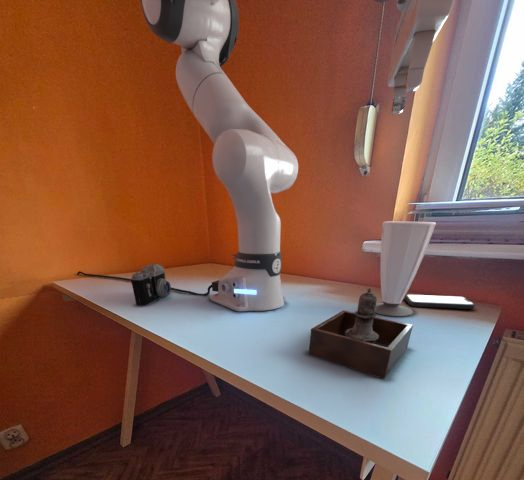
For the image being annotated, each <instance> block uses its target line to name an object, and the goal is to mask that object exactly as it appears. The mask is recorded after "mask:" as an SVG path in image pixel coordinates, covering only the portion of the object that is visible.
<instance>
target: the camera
mask: <svg viewBox="0 0 524 480" xmlns="http://www.w3.org/2000/svg"><path fill="white" fill-rule="evenodd" d="M130 279H131V281H130V283H131V286H132V292H133V296H134V301H135V306H137V307H147V306H149V305H150V304H152V303H155V302H156V301H158V300H160V299H162V298H166V297H167V296H169V295H170V294H171V291H172V290H171V288H172V287H171V283H170V282H169V281H168V280H167V279H166V274H165V267H164V266H163V265H161V264H158V263H150V264H148V265H145V266H144V267H143V268H142V269H141V270H140V271H139V272H138V271H137V272H135V273H134V274H132V275H131V278H130Z"/></svg>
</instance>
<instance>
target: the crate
mask: <svg viewBox="0 0 524 480" xmlns="http://www.w3.org/2000/svg"><path fill="white" fill-rule="evenodd" d="M355 319H356V315H355V312H353V311H348V310H341V311H339V312H338V313H336V314H334V315H333V316H331V317H329V318H327V319H326V320H324V321H322V322H321V323H319V324H317V325H315V326H314V327H312V328H311V329H310V334H309V335H310V336H309V349H308V354H309V355H311V356H314V357H317V358H321V359H323V360H327V361H329V362H333V363H335V364H338V365H341V366H345V367H347V368H351V369H353V370H355V371H356V370H357V371H359V372H363V373H366V374H368V375H371V376H375V377H377V378H381V379H386V378H387V376H388V375H389V374H390V372H391V371H392V370H393V368H394V367H395V366H396V364H397V363H398V362H399V360H400V359H401V357H403V355H404V354H405V353H406V351H407V349H408V346H409V342H410V338H411V334H412V332H413V328H414V324H410V323H406V322H401V321H396V320H392V319H388V318H382V317H377V316H376V317H374V319H373V324H372V330H373V331H374V332H376V333H377V334H378V335H379V338H378V339H377V340H376V342H375V344H373V343H369V342H365V341H361V340H357V339H354V338H350V337H346V335H345V331H346V330H348V329H351V328H353V327H354V324H355Z"/></svg>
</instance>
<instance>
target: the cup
mask: <svg viewBox="0 0 524 480" xmlns="http://www.w3.org/2000/svg"><path fill="white" fill-rule="evenodd" d="M436 225H437V223H436V222H435V221H403V220H402V221H395V220H394V221H383V222H382V226H381V241H380V243H381V244H380V261H379V262H380V266H379V267H380V269H379V273H380V274H379V275H380V293H381V301H382V302H376V306H375V311H374V313H375V314H376V315H377V314H378V315H381V316H386V317H395V318H397V317H398V318H402V317H410V316H412V315H413V314H414V310H413V309H412V308H410V307H407V306H405V305H402V301H403V300H404V299H405V295H407V293H408V291H409V290H410V288H411V285H412V283H413V281H414V279H415V277H416V275H417V274H418V270H419V268H420V266H421V263H422V261H423V259H424V257H425V255H426V251H427V250H428V247H429V244H430V241H431V239H432V236H433V233H434V231H435V228H436Z"/></svg>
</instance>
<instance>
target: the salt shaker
mask: <svg viewBox="0 0 524 480" xmlns="http://www.w3.org/2000/svg"><path fill="white" fill-rule="evenodd" d="M377 301H378V298H377V296H376V295H375V294H374V293H372V288H371V287H369V288H368V289H367V292H365V293H362V294H361V295H360V296H359V299H358V305H357V310H356V311H355V312H354V313H355V315H356V319H355V324H354V327H353V328H351V329H348V330H346V331H345V334H344V336H346V337H350V338H354V339H357V340H361V341H365V342H369V343H373V344H376V343H375V342H376V340H377V339H378V338H379V335H378V334H377V333H376V332H374V331H373V330H372V324H373V319H374V317H377V313H374V311H375V306H376V303H377Z"/></svg>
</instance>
